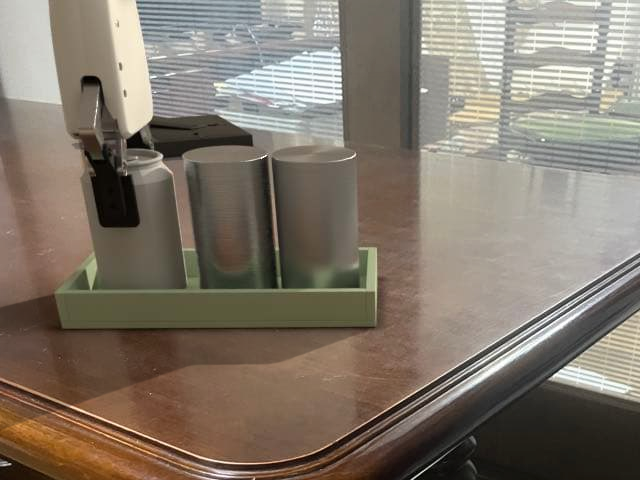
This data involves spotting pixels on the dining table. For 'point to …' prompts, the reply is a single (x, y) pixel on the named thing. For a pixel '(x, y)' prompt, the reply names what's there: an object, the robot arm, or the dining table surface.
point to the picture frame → (195, 134)
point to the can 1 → (141, 231)
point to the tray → (216, 302)
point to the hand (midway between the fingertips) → (132, 212)
